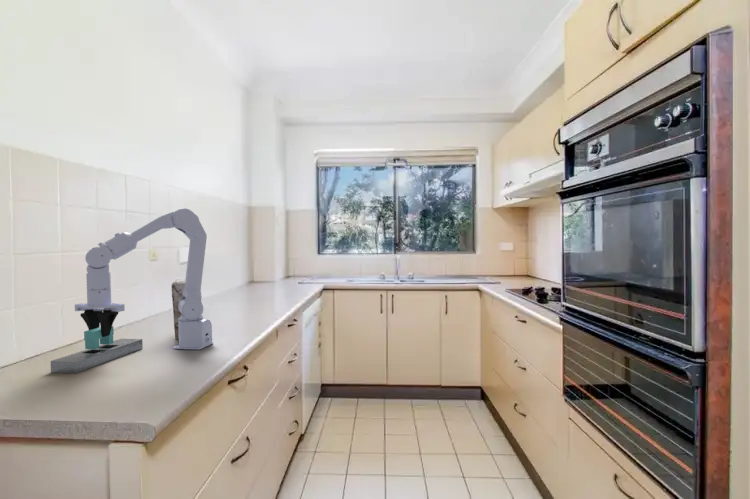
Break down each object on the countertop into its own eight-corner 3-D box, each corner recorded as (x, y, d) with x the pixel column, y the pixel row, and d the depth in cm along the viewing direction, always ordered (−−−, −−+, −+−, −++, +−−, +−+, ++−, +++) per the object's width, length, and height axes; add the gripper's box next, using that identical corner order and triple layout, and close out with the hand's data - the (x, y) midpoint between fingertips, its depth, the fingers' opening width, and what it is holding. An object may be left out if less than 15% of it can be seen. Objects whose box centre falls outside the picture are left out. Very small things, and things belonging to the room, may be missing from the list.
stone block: (195, 338, 141) (193, 281, 140) (172, 340, 138) (171, 282, 137) (194, 330, 153) (193, 278, 152) (174, 332, 150) (172, 279, 149)
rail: (142, 348, 128) (142, 339, 128) (75, 373, 104) (75, 362, 104) (121, 347, 129) (121, 338, 129) (50, 372, 105) (50, 361, 105)
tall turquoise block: (104, 342, 120) (104, 325, 119) (113, 342, 119) (113, 326, 119) (84, 349, 113) (83, 331, 113) (94, 349, 112) (93, 331, 112)
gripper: (64, 290, 113) (65, 338, 113) (110, 291, 111) (111, 340, 111) (86, 287, 120) (87, 332, 120) (129, 288, 118) (130, 334, 118)
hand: (100, 336), depth 116 cm, fingers closed on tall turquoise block, 3 cm apart
